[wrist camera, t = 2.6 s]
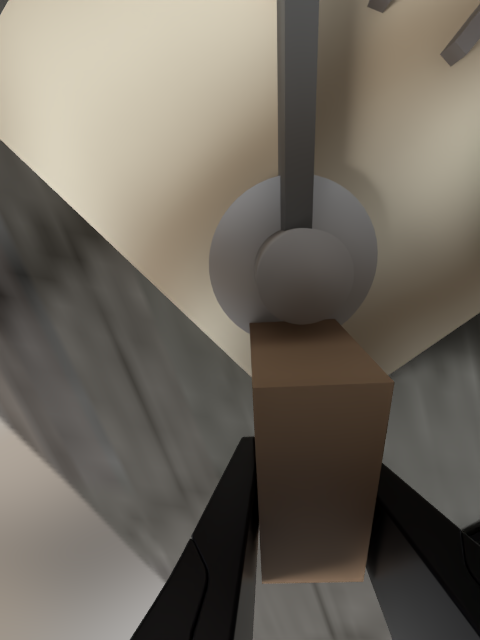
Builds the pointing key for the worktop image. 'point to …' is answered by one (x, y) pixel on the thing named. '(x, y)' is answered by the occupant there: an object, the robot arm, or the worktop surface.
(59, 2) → the dial board
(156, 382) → the worktop surface
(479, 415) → the worktop surface
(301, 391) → the gauge needle
